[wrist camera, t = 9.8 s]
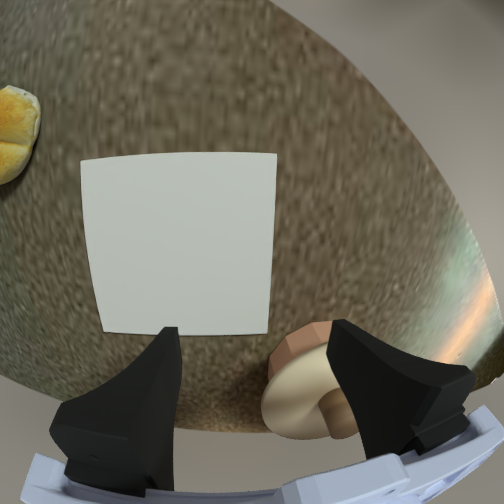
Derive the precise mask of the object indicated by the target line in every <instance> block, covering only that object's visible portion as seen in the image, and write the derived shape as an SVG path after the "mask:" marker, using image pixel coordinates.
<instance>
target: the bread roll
mask: <svg viewBox="0 0 504 504" xmlns="http://www.w3.org/2000/svg"><path fill="white" fill-rule="evenodd" d="M40 122H41V109H40V105H39V101H38V99H37V98H36V97H35V96H34V95H32V94H31V93H29V92H26V91H24V90H23V89H19V88H17V87H13V86H10V85H8V86H7V87H6V88H4V89H2V90H0V185H1V184H4V183H7V182H10V181H11V180H13V179H14V178H16V177H17V176H18V175H19V174H20V173H21V172H22V171H23V169H24V168H25V166H26V164H27V163H28V161H29V159H30V156H31V154H32V147H33V145H34V143H35V141H36V139H37V136H38V133H39V127H40Z"/></svg>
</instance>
